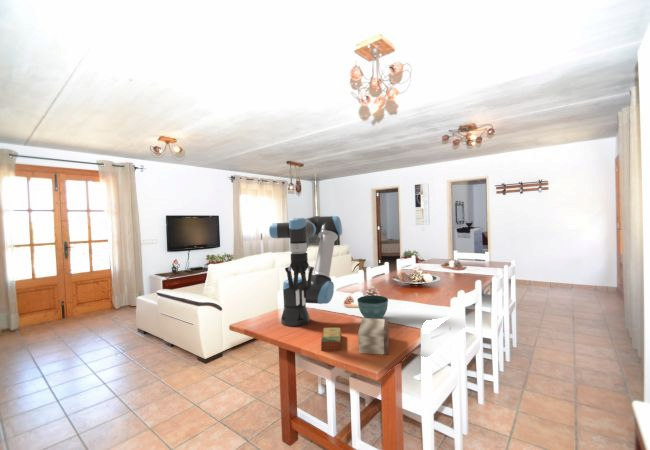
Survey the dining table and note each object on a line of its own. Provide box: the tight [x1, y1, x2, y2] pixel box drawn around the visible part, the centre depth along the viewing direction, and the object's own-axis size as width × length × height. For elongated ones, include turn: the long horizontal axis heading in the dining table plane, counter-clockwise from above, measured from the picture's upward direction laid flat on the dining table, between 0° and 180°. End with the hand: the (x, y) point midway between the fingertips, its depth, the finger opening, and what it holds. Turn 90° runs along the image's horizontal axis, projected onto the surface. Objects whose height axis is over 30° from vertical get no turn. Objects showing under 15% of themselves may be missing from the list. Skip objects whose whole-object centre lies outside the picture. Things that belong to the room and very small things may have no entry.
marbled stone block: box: [357, 317, 390, 356], centre depth 128 cm, size 12×17×8 cm
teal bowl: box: [357, 294, 389, 319], centre depth 161 cm, size 16×16×11 cm
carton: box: [320, 327, 342, 352], centre depth 133 cm, size 8×16×4 cm, turn 177°
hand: (300, 304), depth 135 cm, fingers open, 2 cm apart
